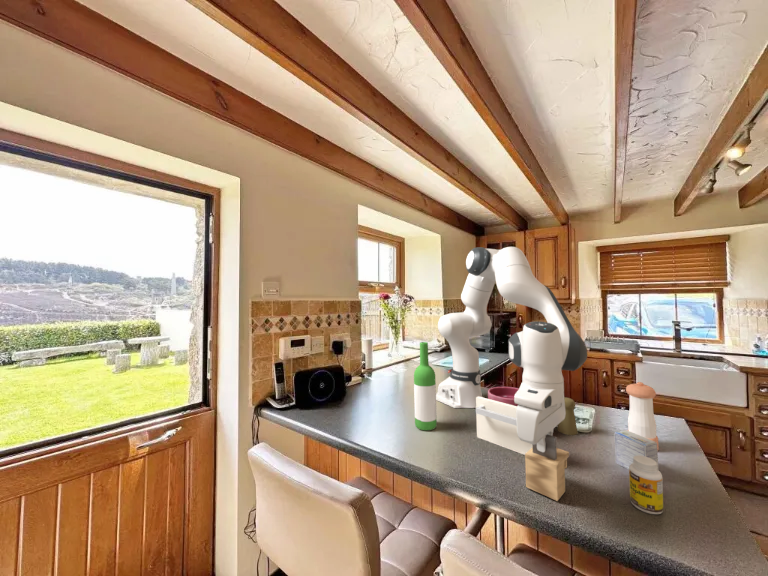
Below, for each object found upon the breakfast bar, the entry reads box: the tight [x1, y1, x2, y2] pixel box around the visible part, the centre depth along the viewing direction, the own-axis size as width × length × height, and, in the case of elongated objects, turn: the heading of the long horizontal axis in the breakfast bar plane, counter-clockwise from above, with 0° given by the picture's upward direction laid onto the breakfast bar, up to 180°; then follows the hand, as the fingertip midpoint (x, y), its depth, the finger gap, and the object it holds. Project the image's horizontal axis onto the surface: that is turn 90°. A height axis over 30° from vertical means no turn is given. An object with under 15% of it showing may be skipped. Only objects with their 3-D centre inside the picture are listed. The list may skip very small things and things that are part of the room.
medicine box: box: [614, 429, 660, 471], centre depth 81 cm, size 8×4×9 cm, turn 17°
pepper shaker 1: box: [556, 396, 579, 436], centre depth 104 cm, size 6×6×11 cm
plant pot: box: [487, 386, 520, 406], centre depth 106 cm, size 14×14×13 cm
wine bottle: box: [413, 341, 438, 431], centre depth 110 cm, size 8×8×30 cm
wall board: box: [475, 396, 533, 456], centre depth 92 cm, size 22×7×13 cm, turn 42°
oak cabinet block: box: [524, 434, 570, 502], centre depth 74 cm, size 7×8×13 cm
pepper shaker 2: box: [625, 381, 660, 452], centre depth 93 cm, size 7×7×19 cm
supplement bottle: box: [628, 456, 664, 515], centre depth 67 cm, size 6×6×10 cm
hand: (544, 448), depth 73 cm, fingers closed on oak cabinet block
